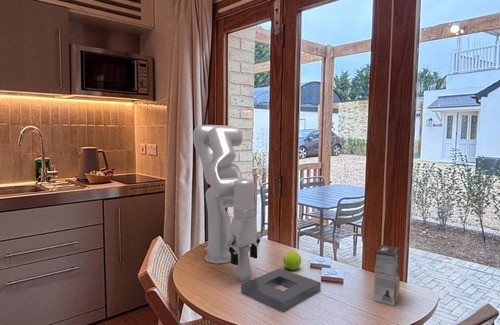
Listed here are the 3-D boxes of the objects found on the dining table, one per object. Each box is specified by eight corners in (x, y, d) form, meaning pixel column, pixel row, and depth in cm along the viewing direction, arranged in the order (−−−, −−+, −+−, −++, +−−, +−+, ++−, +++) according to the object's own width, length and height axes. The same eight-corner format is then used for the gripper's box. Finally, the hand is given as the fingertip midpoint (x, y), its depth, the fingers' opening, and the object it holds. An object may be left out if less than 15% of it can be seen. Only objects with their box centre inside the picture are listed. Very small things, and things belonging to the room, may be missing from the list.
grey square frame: (241, 292, 115) (241, 284, 115) (279, 276, 129) (279, 268, 129) (283, 312, 102) (283, 302, 102) (320, 291, 116) (320, 282, 116)
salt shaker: (249, 283, 122) (249, 248, 121) (234, 282, 123) (234, 246, 122) (252, 277, 128) (253, 243, 127) (237, 276, 129) (237, 242, 128)
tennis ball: (283, 272, 133) (283, 254, 132) (283, 265, 140) (283, 248, 139) (301, 272, 132) (301, 255, 132) (300, 266, 139) (300, 249, 139)
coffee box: (379, 290, 117) (380, 244, 116) (399, 294, 114) (401, 247, 113) (373, 300, 109) (374, 251, 108) (394, 306, 106) (396, 255, 105)
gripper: (253, 209, 132) (253, 253, 133) (218, 216, 120) (219, 264, 121) (267, 211, 127) (267, 257, 128) (233, 219, 115) (233, 269, 116)
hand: (244, 260), depth 124 cm, fingers open, 9 cm apart
